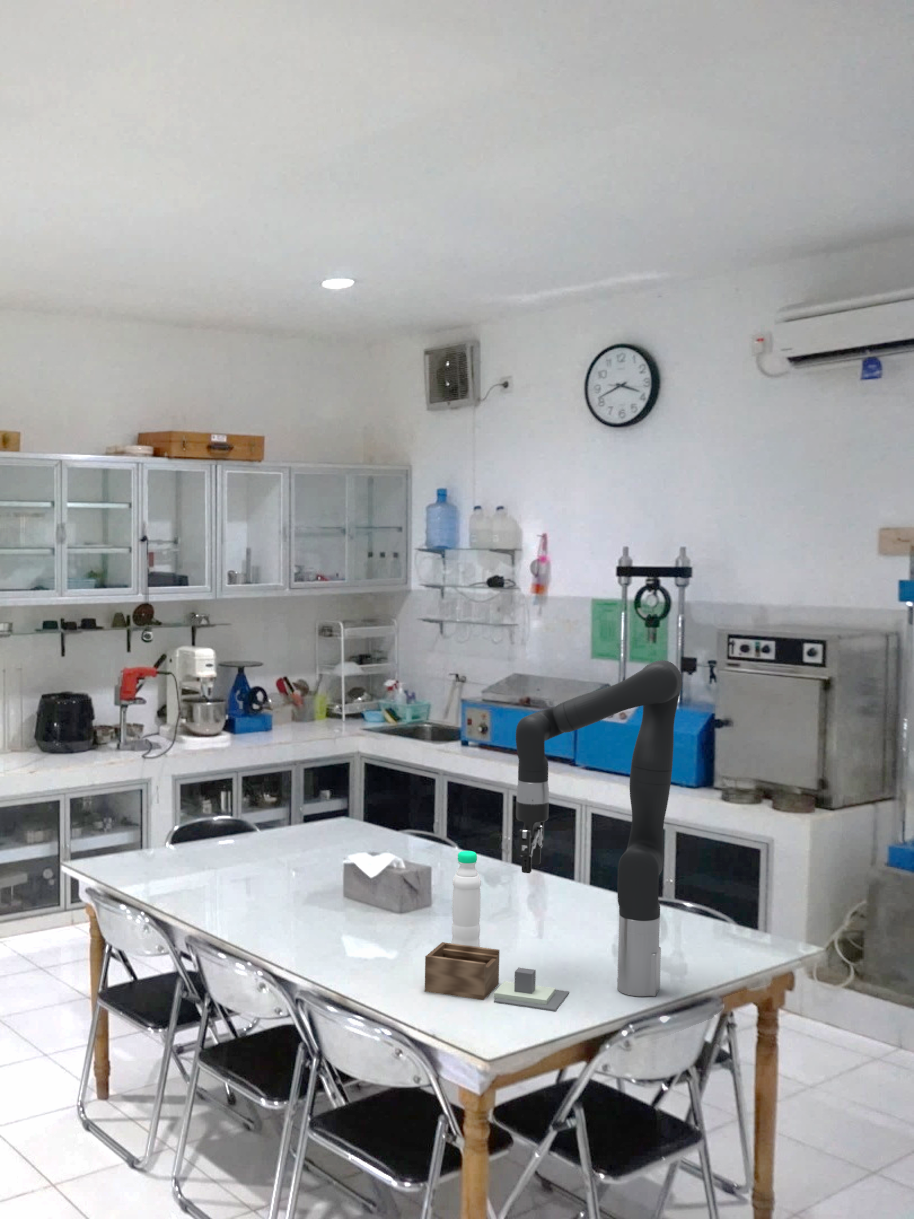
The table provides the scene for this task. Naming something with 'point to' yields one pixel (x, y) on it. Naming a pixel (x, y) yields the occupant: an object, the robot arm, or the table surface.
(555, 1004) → the mat
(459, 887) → the water bottle
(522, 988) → the lid
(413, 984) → the table surface
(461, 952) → the box
